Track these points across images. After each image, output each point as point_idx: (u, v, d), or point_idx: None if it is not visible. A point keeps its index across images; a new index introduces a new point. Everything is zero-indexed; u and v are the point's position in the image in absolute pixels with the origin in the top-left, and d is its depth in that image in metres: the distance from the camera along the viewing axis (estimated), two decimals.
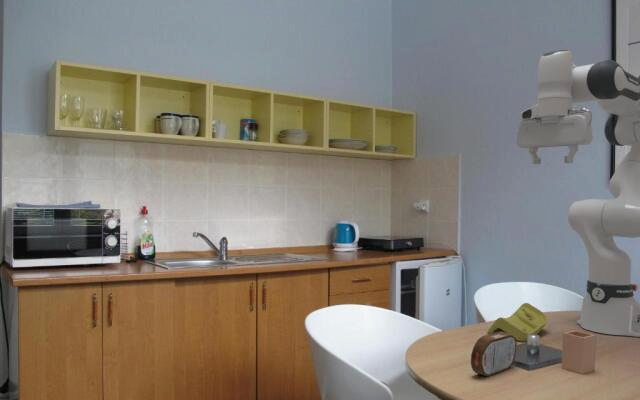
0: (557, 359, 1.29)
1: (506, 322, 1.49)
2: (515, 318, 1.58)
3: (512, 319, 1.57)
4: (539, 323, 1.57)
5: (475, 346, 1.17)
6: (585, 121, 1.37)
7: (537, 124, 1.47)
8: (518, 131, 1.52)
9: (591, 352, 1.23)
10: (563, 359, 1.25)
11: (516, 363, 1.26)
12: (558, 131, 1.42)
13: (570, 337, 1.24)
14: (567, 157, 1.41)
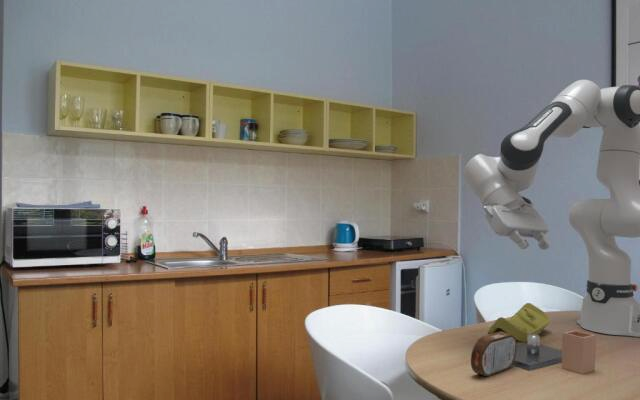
0: (557, 359, 1.29)
1: (506, 322, 1.49)
2: (516, 318, 1.58)
3: (513, 319, 1.57)
4: (541, 323, 1.57)
5: (475, 346, 1.17)
6: (487, 217, 1.35)
7: None
8: None
9: (591, 352, 1.23)
10: (563, 359, 1.25)
11: (516, 363, 1.26)
12: None
13: (570, 337, 1.24)
14: None
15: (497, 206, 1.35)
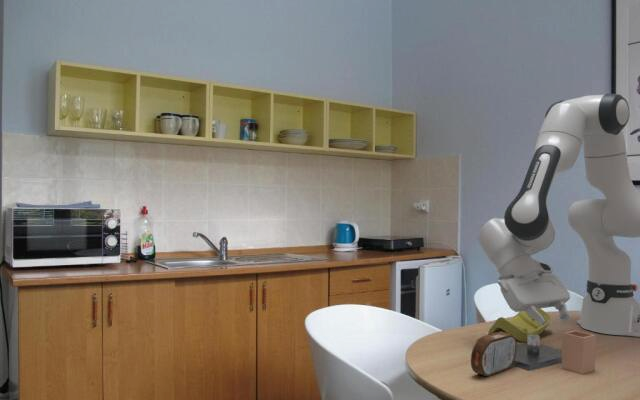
0: (557, 359, 1.29)
1: (506, 322, 1.49)
2: (518, 318, 1.58)
3: (514, 319, 1.57)
4: None
5: (475, 346, 1.17)
6: (502, 292, 1.31)
7: None
8: None
9: (591, 352, 1.23)
10: (563, 359, 1.25)
11: (516, 363, 1.26)
12: None
13: (570, 337, 1.24)
14: None
15: (512, 280, 1.31)
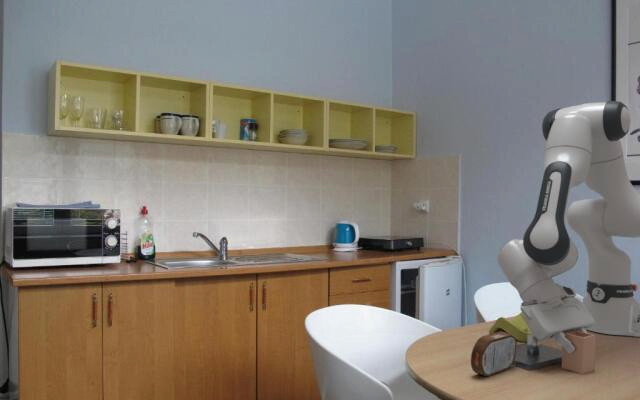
0: (557, 359, 1.29)
1: (506, 322, 1.49)
2: (519, 318, 1.58)
3: (516, 319, 1.57)
4: None
5: (475, 346, 1.17)
6: (525, 319, 1.26)
7: None
8: None
9: (591, 352, 1.23)
10: (563, 359, 1.25)
11: (516, 363, 1.26)
12: None
13: (570, 337, 1.24)
14: None
15: (536, 306, 1.26)
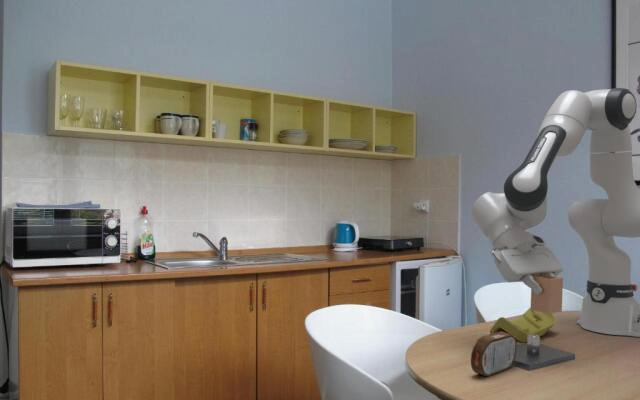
0: (557, 359, 1.29)
1: (507, 322, 1.49)
2: (521, 319, 1.58)
3: (518, 319, 1.57)
4: (546, 324, 1.56)
5: (475, 346, 1.17)
6: (496, 263, 1.32)
7: None
8: None
9: (558, 294, 1.29)
10: (531, 301, 1.31)
11: (516, 363, 1.26)
12: None
13: (538, 280, 1.30)
14: None
15: (506, 251, 1.32)
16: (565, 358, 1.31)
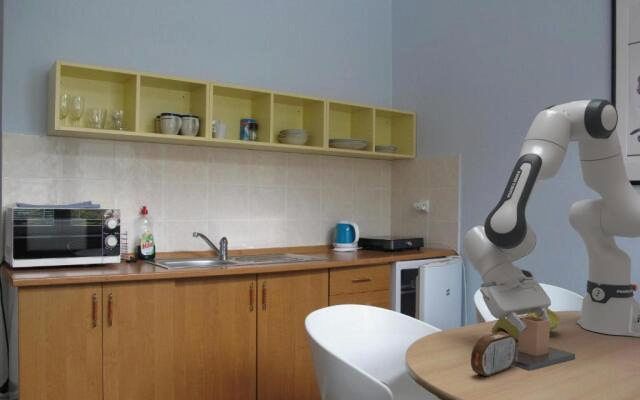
0: (557, 359, 1.29)
1: (507, 322, 1.49)
2: None
3: None
4: None
5: (475, 346, 1.17)
6: (484, 299, 1.34)
7: None
8: None
9: (545, 336, 1.32)
10: (519, 343, 1.34)
11: (516, 363, 1.26)
12: None
13: (525, 322, 1.33)
14: None
15: (494, 287, 1.34)
16: (565, 358, 1.31)
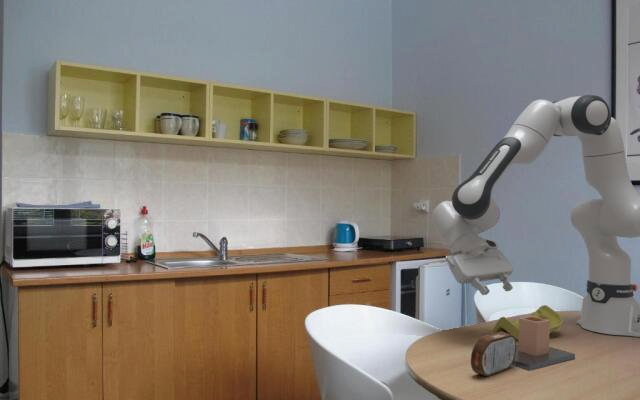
0: (557, 359, 1.29)
1: (507, 322, 1.50)
2: None
3: None
4: (551, 326, 1.54)
5: (475, 346, 1.17)
6: (450, 267, 1.45)
7: None
8: None
9: (545, 336, 1.32)
10: (519, 343, 1.34)
11: (516, 363, 1.26)
12: None
13: (525, 322, 1.33)
14: None
15: (458, 255, 1.45)
16: (565, 358, 1.31)
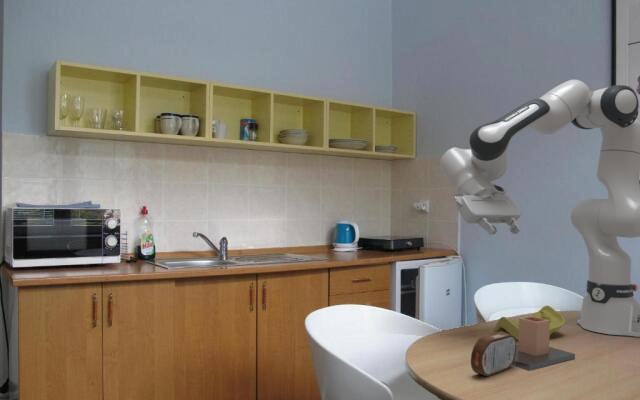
0: (557, 359, 1.29)
1: (508, 322, 1.50)
2: None
3: None
4: (553, 326, 1.54)
5: (475, 346, 1.17)
6: (458, 207, 1.45)
7: None
8: None
9: (545, 336, 1.32)
10: (519, 343, 1.34)
11: (516, 363, 1.26)
12: None
13: (525, 322, 1.33)
14: None
15: (467, 196, 1.45)
16: (565, 358, 1.31)
